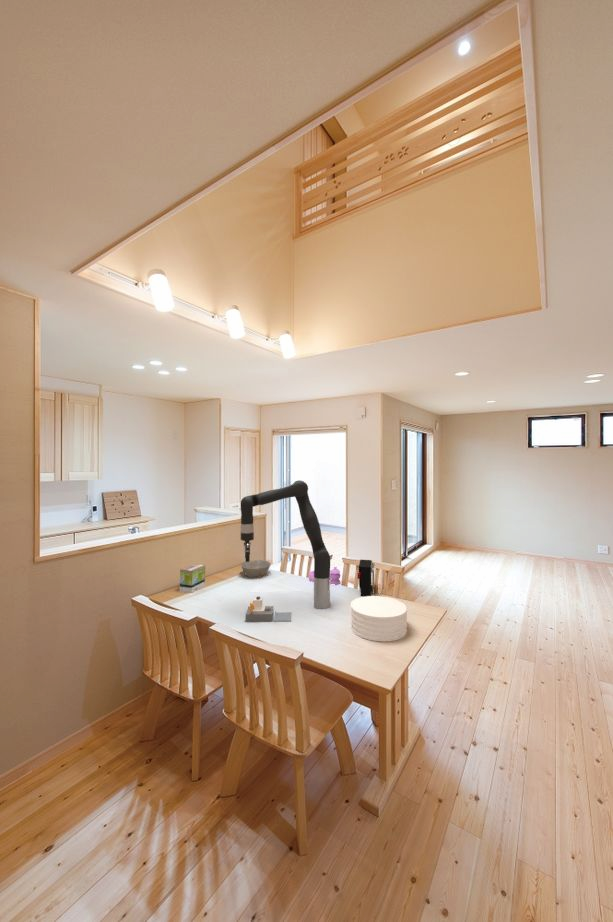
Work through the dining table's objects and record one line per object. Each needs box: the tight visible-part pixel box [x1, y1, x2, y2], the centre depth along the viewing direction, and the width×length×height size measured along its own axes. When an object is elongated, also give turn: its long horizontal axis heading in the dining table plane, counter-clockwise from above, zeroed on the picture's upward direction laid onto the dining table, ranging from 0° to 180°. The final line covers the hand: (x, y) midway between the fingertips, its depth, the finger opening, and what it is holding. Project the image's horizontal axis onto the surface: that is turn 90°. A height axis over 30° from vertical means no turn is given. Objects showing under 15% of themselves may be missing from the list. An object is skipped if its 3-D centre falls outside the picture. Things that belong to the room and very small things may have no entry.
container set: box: [308, 566, 341, 586], centre depth 257 cm, size 25×15×13 cm, turn 47°
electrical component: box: [357, 559, 375, 597], centre depth 236 cm, size 18×10×20 cm, turn 168°
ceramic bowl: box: [239, 559, 271, 579], centre depth 271 cm, size 22×23×10 cm
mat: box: [273, 611, 292, 623], centre depth 200 cm, size 9×11×1 cm
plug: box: [251, 595, 266, 613], centre depth 200 cm, size 7×7×11 cm
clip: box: [249, 600, 254, 612], centre depth 200 cm, size 2×12×5 cm, turn 1°
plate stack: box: [350, 595, 408, 643], centre depth 188 cm, size 28×28×12 cm
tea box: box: [179, 563, 206, 594], centre depth 246 cm, size 15×10×15 cm, turn 162°
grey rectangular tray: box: [245, 605, 275, 623], centre depth 200 cm, size 14×11×4 cm
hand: (247, 559), depth 211 cm, fingers open, 8 cm apart
